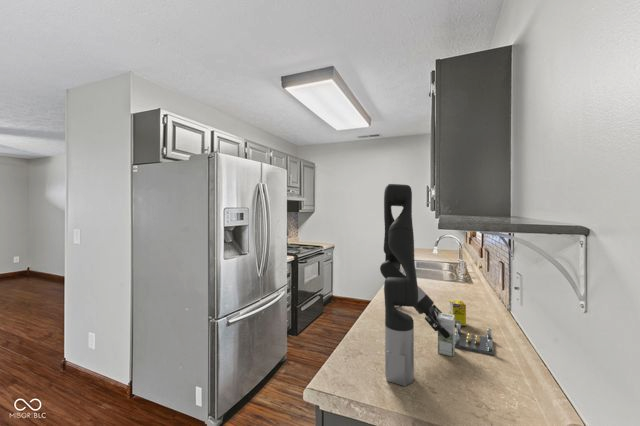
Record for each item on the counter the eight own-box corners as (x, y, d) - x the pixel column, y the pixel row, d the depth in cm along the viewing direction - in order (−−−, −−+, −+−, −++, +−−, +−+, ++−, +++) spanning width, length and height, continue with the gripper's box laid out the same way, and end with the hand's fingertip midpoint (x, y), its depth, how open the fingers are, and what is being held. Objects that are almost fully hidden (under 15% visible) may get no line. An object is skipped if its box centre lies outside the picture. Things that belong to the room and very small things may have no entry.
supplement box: (466, 327, 133) (466, 304, 133) (452, 326, 134) (452, 303, 134) (462, 322, 139) (462, 300, 139) (449, 321, 140) (449, 299, 140)
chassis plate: (493, 355, 107) (493, 342, 107) (453, 347, 114) (453, 334, 114) (492, 340, 119) (492, 328, 119) (455, 333, 126) (455, 322, 126)
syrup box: (455, 351, 111) (455, 314, 111) (453, 357, 106) (453, 319, 106) (439, 347, 114) (439, 311, 114) (437, 354, 109) (437, 316, 109)
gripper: (422, 298, 107) (455, 334, 102) (428, 289, 120) (458, 321, 114) (408, 310, 110) (439, 345, 105) (415, 299, 122) (444, 331, 117)
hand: (449, 332), depth 109 cm, fingers open, 8 cm apart
